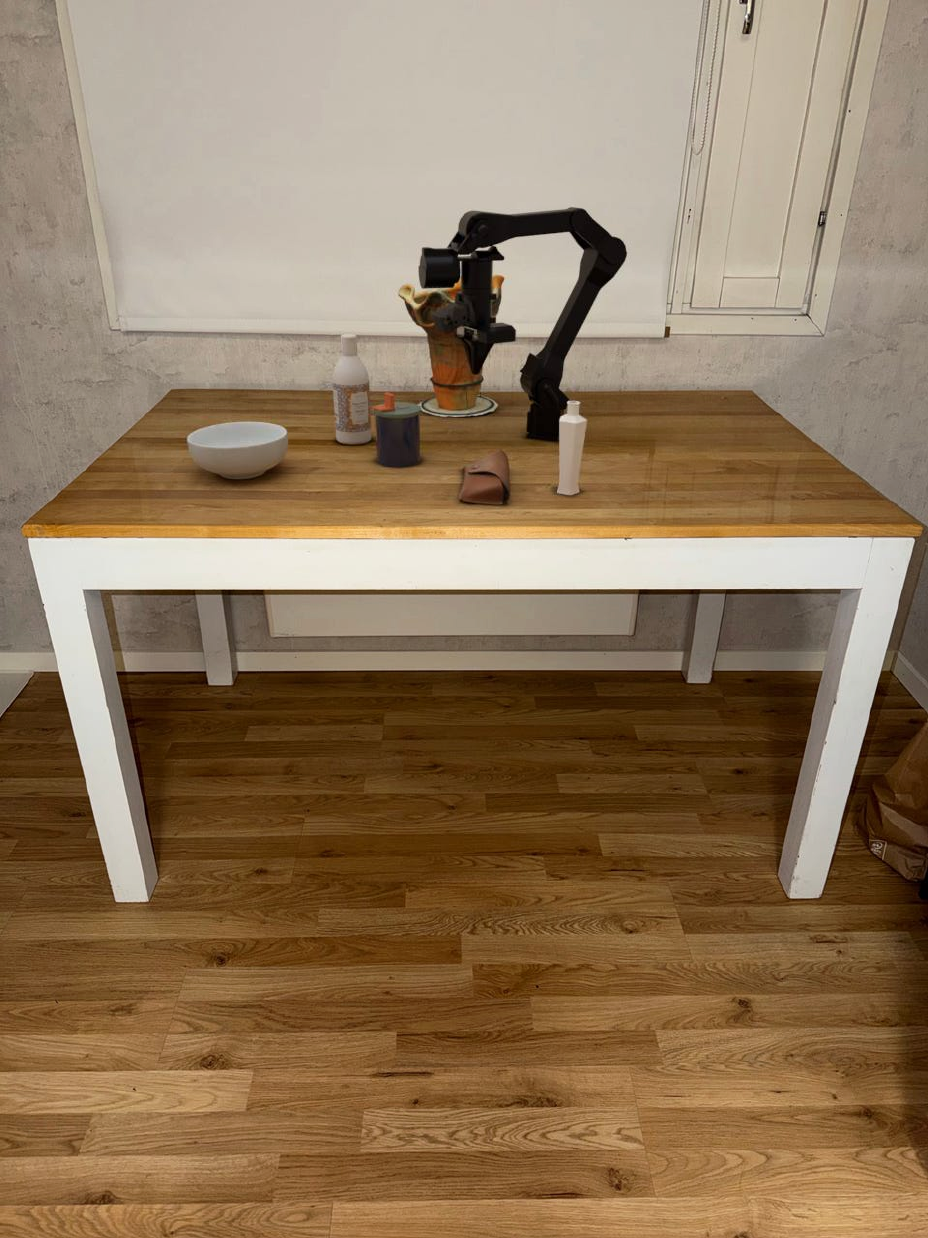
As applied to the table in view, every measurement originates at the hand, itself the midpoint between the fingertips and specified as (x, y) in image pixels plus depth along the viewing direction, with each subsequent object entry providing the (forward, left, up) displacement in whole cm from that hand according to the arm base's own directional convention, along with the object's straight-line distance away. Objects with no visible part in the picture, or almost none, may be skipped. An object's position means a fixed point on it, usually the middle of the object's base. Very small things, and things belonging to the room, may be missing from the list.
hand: (475, 374), depth 164 cm
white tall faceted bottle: (-25, +21, -13) cm, 35 cm away
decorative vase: (+13, -22, -13) cm, 29 cm away
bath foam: (+22, +9, -13) cm, 27 cm away
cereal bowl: (+31, +34, -13) cm, 48 cm away
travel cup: (+8, +17, -13) cm, 23 cm away
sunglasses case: (-11, +24, -13) cm, 30 cm away
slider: (+11, +20, -3) cm, 23 cm away
